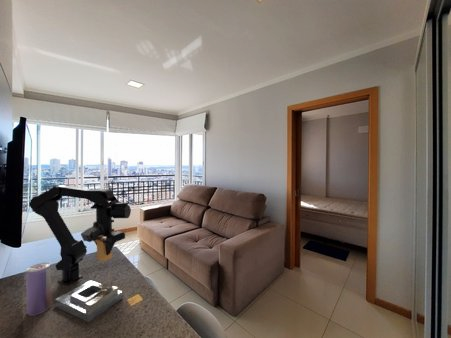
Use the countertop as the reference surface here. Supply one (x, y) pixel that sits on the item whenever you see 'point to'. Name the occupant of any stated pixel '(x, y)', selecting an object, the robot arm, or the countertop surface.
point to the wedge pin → (102, 250)
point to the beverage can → (38, 288)
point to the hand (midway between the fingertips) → (104, 253)
